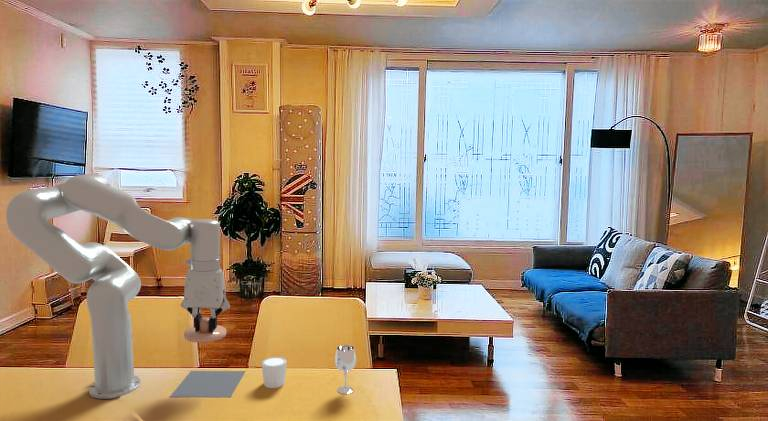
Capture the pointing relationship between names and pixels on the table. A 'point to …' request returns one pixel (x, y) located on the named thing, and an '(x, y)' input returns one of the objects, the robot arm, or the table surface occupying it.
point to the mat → (209, 384)
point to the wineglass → (345, 364)
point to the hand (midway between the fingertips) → (205, 329)
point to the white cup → (274, 372)
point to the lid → (204, 332)
